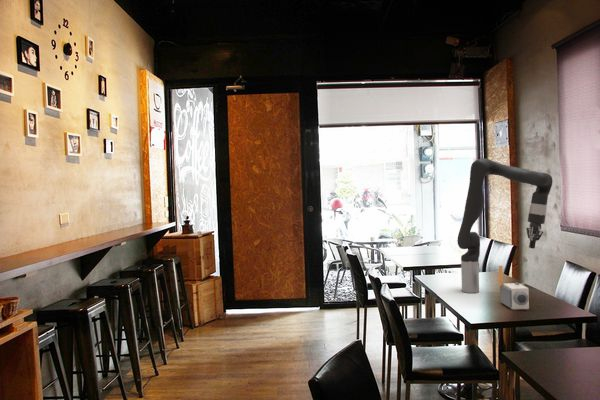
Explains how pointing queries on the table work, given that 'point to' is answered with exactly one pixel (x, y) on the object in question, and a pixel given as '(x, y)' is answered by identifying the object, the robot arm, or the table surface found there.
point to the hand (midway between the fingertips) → (531, 248)
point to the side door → (504, 291)
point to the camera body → (518, 295)
